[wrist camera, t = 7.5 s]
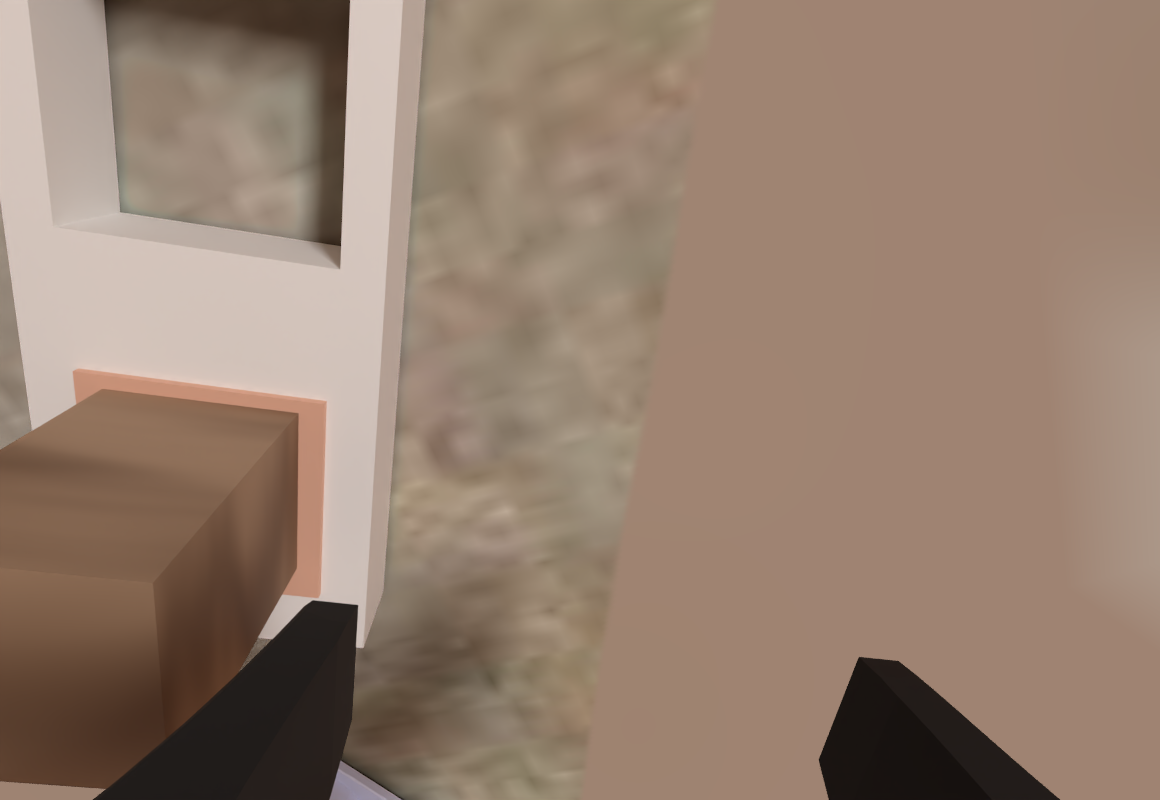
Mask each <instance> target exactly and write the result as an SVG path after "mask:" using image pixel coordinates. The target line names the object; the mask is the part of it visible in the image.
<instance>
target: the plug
mask: <svg viewBox="0 0 1160 800" xmlns="http://www.w3.org/2000/svg"><path fill="white" fill-rule="evenodd" d="M298 425H299V413H293V412H285V411H277V410H269V409H261V408H253V407H245V406H237V405H229V404H221V403H213V402H205V401H197V400H189V399H181V398H173V397H164V396H156V395H148V394H140V393H132V392H124V391H116V390H108V389H101V390H99V391H98V392H96V393H94V394H93V395H91V396H89V397H88V398H86V399H84V400H83V401H81V402H79V403H78V404H76V405H74V406H73V407H71V408H69V409H68V410H66V411H64V412H63V413H61V414H59V415H58V416H56V417H54V418H53V419H51V420H49V421H48V422H46V423H44V424H43V425H41V426H39V427H38V428H36V429H34V430H33V431H31V432H29V433H28V434H26V435H24V436H23V437H21V438H19V439H18V440H16V441H14V442H13V443H11V444H9V445H8V446H6V447H4V448H3V449H1V450H0V781H6V782H18V783H32V784H33V783H34V784H46V785H47V784H48V785H60V786H74V787H88V788H102V789H107V788H108V787H109V786H111V785H112V784H113V783H114V782H116V781H117V780H118V779H119V778H121V777H122V776H123V775H124V774H125V773H126V772H128V771H129V770H130V769H131V768H132V767H133V766H135V765H136V764H137V763H138V762H139V761H141V760H142V759H143V758H144V757H145V756H146V755H148V754H149V753H150V752H151V751H152V750H153V749H155V748H156V747H157V746H158V745H159V744H160V743H162V742H163V741H164V740H165V739H166V738H168V737H169V736H170V735H171V734H172V733H173V732H175V731H176V730H177V729H178V728H179V727H180V726H182V725H183V724H184V723H185V722H186V721H187V720H188V719H189V718H190V717H192V716H193V715H194V714H195V713H196V712H197V711H198V710H199V709H200V708H201V707H202V706H203V705H205V704H206V703H207V702H208V701H209V700H210V699H211V698H212V697H213V696H214V695H215V694H216V693H217V692H218V691H220V690H221V689H222V688H223V687H224V686H225V685H226V684H227V683H228V682H229V681H230V680H231V679H232V678H234V677H235V676H236V675H237V674H238V672H239V670H240V668H241V667H242V665H243V663H244V661H245V660H246V658H247V656H248V654H249V652H250V651H251V649H252V647H253V645H254V644H255V642H256V640H257V638H258V637H259V635H260V633H261V631H262V629H263V628H264V626H265V624H266V622H267V621H268V619H269V617H270V615H271V613H272V612H273V610H274V608H275V606H276V605H277V603H278V601H279V599H280V598H281V596H282V594H283V592H284V590H285V589H286V587H287V585H288V583H289V582H290V580H291V578H292V576H293V574H294V573H295V571H296V569H297V526H298Z"/></svg>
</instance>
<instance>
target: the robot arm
mask: <svg viewBox="0 0 1160 800" xmlns="http://www.w3.org/2000/svg"><path fill="white" fill-rule="evenodd" d="M357 620H358V605H354V604H344V603H335V602H325V601H315V600H312V601H311V602H310V603H308V604H307V605H305V606H304V607H303V608H302V609H301V610H300V611H299V612H298V613H297V614H296V615H295V616H294V617H293V618H292V619H291V621H290V622H289V623H288V624H287V625H286V626H285V627H284V628H283V629H282V630H281V631H280V632H279V633H278V634H277V635H276V636H275V637H274V638H273V639H272V640H271V641H270V642H269V643H268V644H267V645H266V646H265V647H264V648H263V649H262V650H261V651H260V652H259V653H258V654H257V655H256V656H255V657H254V658H253V659H252V660H251V661H250V662H249V663H248V664H247V665H246V666H245V667H244V668H243V669H242V670H241V671H240V672H239V673H238V674H237V675H236V676H235V677H234V678H232V679H231V680H230V681H229V682H228V683H227V684H226V685H225V686H224V687H223V688H222V689H221V690H220V691H218V692H217V693H216V694H215V695H214V696H213V697H212V698H211V699H210V700H209V701H208V702H207V703H206V704H205V705H203V706H202V707H201V708H200V709H199V710H198V711H197V712H196V713H195V714H194V715H193V716H192V717H190V718H189V719H188V720H187V721H186V722H185V723H184V724H183V725H182V726H180V727H179V728H178V729H177V730H176V731H175V732H173V733H172V734H171V735H170V736H169V737H168V738H166V739H165V740H164V741H163V742H162V743H160V744H159V745H158V746H157V747H156V748H155V749H153V750H152V751H151V752H150V753H149V754H148V755H146V756H145V757H144V758H143V759H142V760H141V761H139V762H138V763H137V764H136V765H135V766H133V767H132V768H131V769H130V770H129V771H128V772H126V773H125V774H124V775H123V776H122V777H121V778H119V779H118V780H117V781H116V782H114V783H113V784H112V785H111V786H109V787H108V788H107V789H106V790H104V791H103V792H102V793H101V794H99V795H98V796H97V797H96V798H94V799H93V800H402V799H400V798H398V797H397V796H395V795H394V794H392V793H391V792H389V791H387V790H386V789H384V788H383V787H381V786H380V785H378V784H377V783H375V782H373V781H372V780H370V779H369V778H367V777H366V776H364V775H362V774H361V773H359V772H358V771H356V770H355V769H353V768H351V767H350V766H348V765H347V764H345V763H344V762H342V761H341V757H342V754H343V750H344V746H345V742H346V739H347V735H348V731H349V728H350V724H351V720H352V708H353V691H354V673H355V655H356V637H357ZM819 763H820V767H821V771H822V775H823V778H824V782H825V786H826V790H827V794H828V798H829V800H1060V799H1059V798H1057V797H1056V796H1055V795H1054V794H1053V793H1051V792H1050V791H1049V790H1048V789H1047V788H1046V787H1045V786H1043V785H1042V784H1041V783H1040V782H1039V781H1038V780H1036V779H1035V778H1034V777H1033V776H1032V775H1030V774H1029V773H1028V772H1027V771H1026V770H1025V769H1024V768H1022V767H1021V766H1020V765H1019V764H1018V763H1016V761H1014V760H1013V759H1012V758H1011V757H1010V756H1009V755H1008V754H1006V753H1005V752H1004V751H1003V750H1002V749H1001V748H1000V747H998V746H997V745H996V744H995V743H994V742H992V740H990V739H989V738H988V737H987V736H986V735H985V734H984V733H982V732H981V731H980V730H979V729H978V728H977V727H976V726H974V725H973V724H972V723H971V722H970V721H969V720H968V719H967V718H965V717H964V716H963V715H962V714H961V713H960V712H959V711H957V710H956V709H955V708H954V707H953V706H952V705H950V704H949V703H948V702H947V701H946V700H945V699H944V698H942V697H941V696H940V695H939V694H938V693H937V692H935V691H934V690H933V689H932V688H931V687H929V685H927V684H926V683H925V682H924V681H923V680H921V679H920V678H919V677H918V676H917V675H915V674H914V673H913V672H911V671H910V670H909V669H908V668H906V667H905V666H904V665H903V664H901V663H900V662H899V661H892V660H883V659H873V658H864V657H859V658H858V661H857V663H856V666H855V668H854V671H853V673H852V676H851V679H850V681H849V684H848V686H847V689H846V691H845V694H844V697H843V699H842V702H841V704H840V707H839V709H838V712H837V714H836V717H835V720H834V722H833V725H832V727H831V730H830V732H829V735H828V737H827V740H826V742H825V745H824V748H823V750H822V753H821V755H820V758H819Z"/></svg>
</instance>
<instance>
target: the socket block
mask: <svg viewBox="0 0 1160 800" xmlns="http://www.w3.org/2000/svg"><path fill="white" fill-rule="evenodd" d="M425 3H426V0H350V20H349V47H348V74H347V101H346V128H345V156H344V183H343V210H342V237H341V246H337V245H330V244H324V243H317V242H311V241H304V240H298V239H291V238H284V237H278V236H271V235H265V234H258V233H252V232H245V231H239V230H232V229H226V228H219V227H213V226H206V225H200V224H193V223H187V222H180V221H174V220H167V219H161V218H154V217H147V216H141V215H134V214H128V213H121V212H120V202H119V189H118V176H117V163H116V150H115V137H114V124H113V111H112V98H111V85H110V72H109V59H108V46H107V33H106V20H105V7H104V0H0V201H1V208H2V215H3V223H4V230H5V237H6V244H7V252H8V259H9V266H10V273H11V281H12V288H13V295H14V302H15V310H16V317H17V324H18V332H19V339H20V346H21V353H22V361H23V368H24V375H25V382H26V390H27V397H28V404H29V411H30V419H31V426H32V431H33V430H34V429H36V428H38V427H39V426H41V425H43V424H44V423H46V422H48V421H49V420H51V419H53V418H54V417H56V416H58V415H59V414H61V413H63V412H64V411H66V410H68V409H69V408H71V407H73V406H74V405H76V404H78V403H79V402H81V401H83V400H84V399H86V398H88V397H89V396H91V395H93V394H94V393H96V392H98V391H99V390H101V389H108V390H116V391H124V392H132V393H140V394H148V395H156V396H164V397H173V398H181V399H189V400H197V401H205V402H213V403H221V404H229V405H237V406H245V407H253V408H261V409H269V410H277V411H285V412H293V413H299V425H298V526H297V569H296V571H295V573H294V574H293V576H292V578H291V580H290V582H289V583H288V585H287V587H286V589H285V590H284V592H283V594H282V596H281V598H280V599H279V601H278V603H277V605H276V606H275V608H274V610H273V612H272V613H271V615H270V617H269V619H268V621H267V622H266V624H265V626H264V628H263V629H262V631H261V633H260V635H259V637H258V638H265V639H273V638H274V637H275V636H276V635H277V634H278V633H279V632H280V631H281V630H282V629H283V628H284V627H285V626H286V625H287V624H288V623H289V622H290V621H291V619H292V618H293V617H294V616H295V615H296V614H297V613H298V612H299V611H300V610H301V609H302V608H303V607H304V606H305V605H307V604H308V603H310V602H311V601H312V600H315V601H325V602H335V603H344V604H354V605H358V620H357V637H356V647H357V648H364V645H365V642H366V639H367V636H368V633H369V631H370V628H371V625H372V622H373V619H374V616H375V614H376V611H377V608H378V605H379V602H380V599H381V597H382V594H383V588H384V574H385V560H386V546H387V532H388V519H389V505H390V491H391V477H392V463H393V449H394V435H395V421H396V407H397V393H398V379H399V365H400V351H401V337H402V323H403V309H404V295H405V281H406V267H407V254H408V240H409V226H410V212H411V198H412V184H413V170H414V156H415V142H416V128H417V114H418V100H419V86H420V72H421V58H422V44H423V30H424V16H425Z"/></svg>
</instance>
